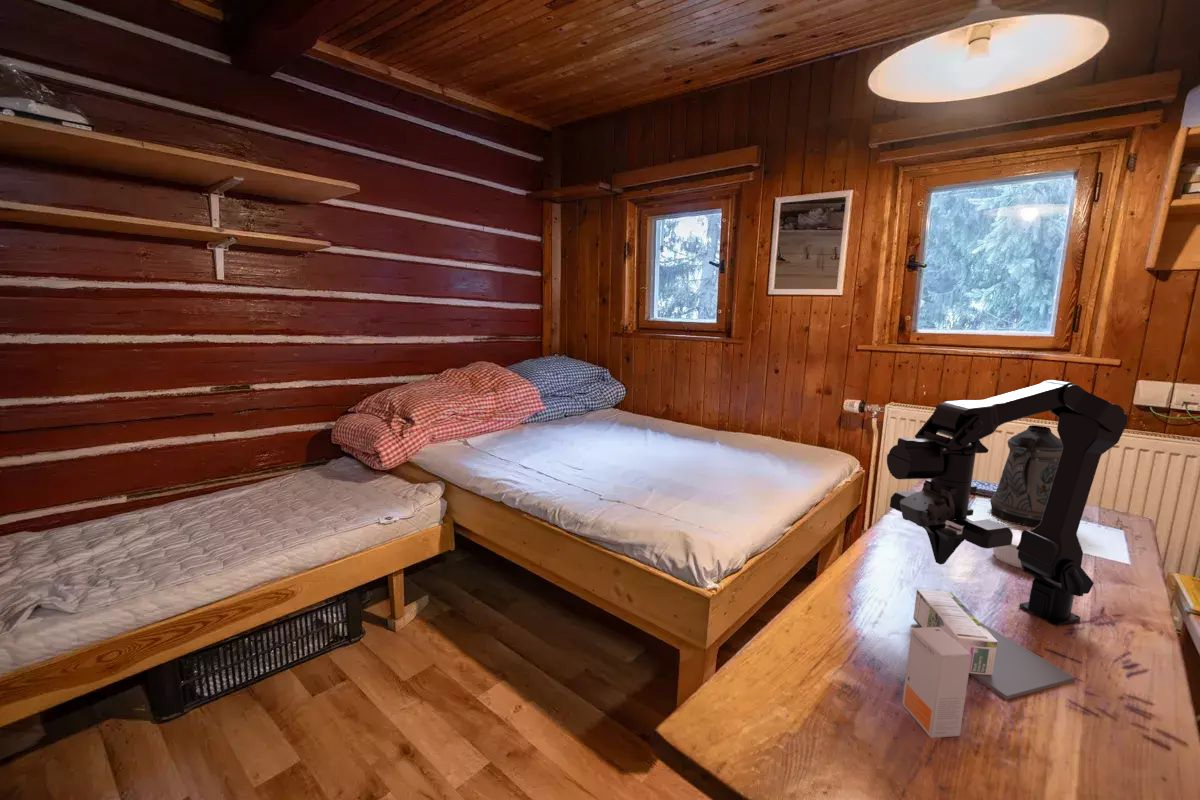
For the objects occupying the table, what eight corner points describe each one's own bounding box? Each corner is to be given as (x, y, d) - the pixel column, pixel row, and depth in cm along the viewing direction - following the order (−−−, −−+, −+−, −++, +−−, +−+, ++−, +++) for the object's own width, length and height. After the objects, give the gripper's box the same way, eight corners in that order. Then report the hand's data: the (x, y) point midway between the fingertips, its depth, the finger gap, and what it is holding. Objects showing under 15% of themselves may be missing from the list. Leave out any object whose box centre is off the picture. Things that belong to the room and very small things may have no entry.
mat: (972, 621, 95) (973, 618, 95) (1074, 680, 80) (1075, 677, 80) (911, 634, 91) (911, 631, 91) (1006, 699, 76) (1006, 695, 76)
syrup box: (946, 621, 94) (995, 677, 80) (911, 618, 95) (953, 672, 80) (951, 591, 93) (1001, 642, 79) (914, 588, 94) (958, 638, 79)
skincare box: (900, 705, 74) (909, 626, 72) (929, 703, 75) (939, 625, 73) (930, 739, 69) (941, 655, 66) (961, 737, 69) (973, 653, 67)
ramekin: (1063, 566, 116) (1067, 544, 115) (1035, 577, 111) (1039, 553, 110) (1006, 546, 126) (1009, 525, 125) (978, 555, 121) (981, 533, 120)
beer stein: (1060, 514, 146) (1075, 425, 142) (1075, 539, 130) (1093, 439, 126) (986, 502, 155) (999, 417, 151) (992, 524, 139) (1006, 430, 135)
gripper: (870, 465, 97) (861, 546, 99) (967, 500, 79) (954, 597, 82) (918, 460, 100) (908, 539, 103) (1021, 494, 82) (1007, 587, 85)
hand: (939, 563), depth 93 cm, fingers closed
